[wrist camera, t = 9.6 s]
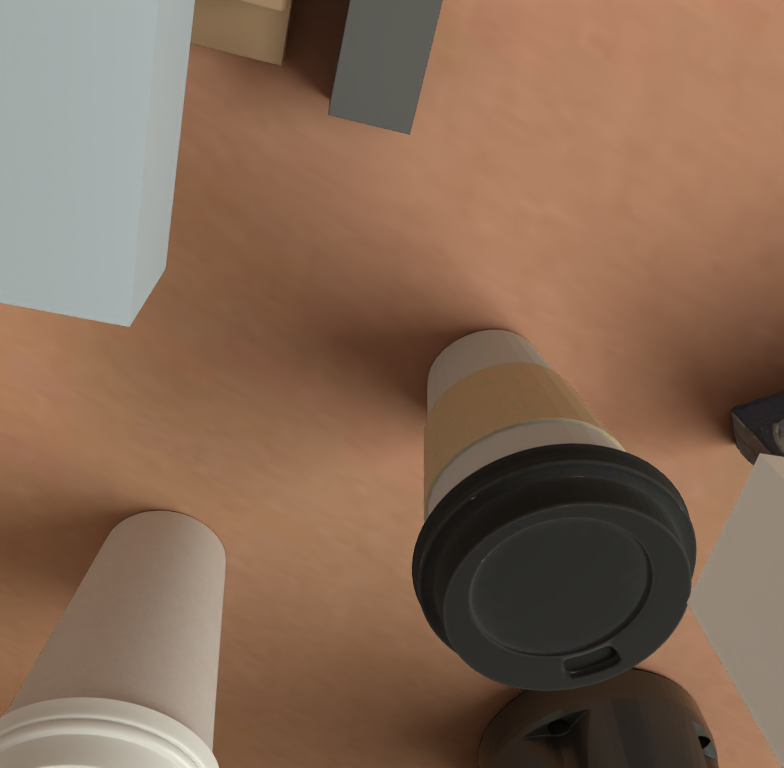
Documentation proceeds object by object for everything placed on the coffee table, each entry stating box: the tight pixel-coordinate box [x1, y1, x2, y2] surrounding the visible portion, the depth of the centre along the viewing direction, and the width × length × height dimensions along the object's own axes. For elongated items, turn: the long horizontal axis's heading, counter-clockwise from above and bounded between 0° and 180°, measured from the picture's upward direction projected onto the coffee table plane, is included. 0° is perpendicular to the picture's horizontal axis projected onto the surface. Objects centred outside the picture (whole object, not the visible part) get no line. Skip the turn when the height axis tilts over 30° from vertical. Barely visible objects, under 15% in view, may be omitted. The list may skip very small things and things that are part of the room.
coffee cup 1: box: [0, 511, 226, 768], centre depth 34 cm, size 10×10×15 cm
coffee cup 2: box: [412, 330, 696, 691], centre depth 30 cm, size 9×9×15 cm
